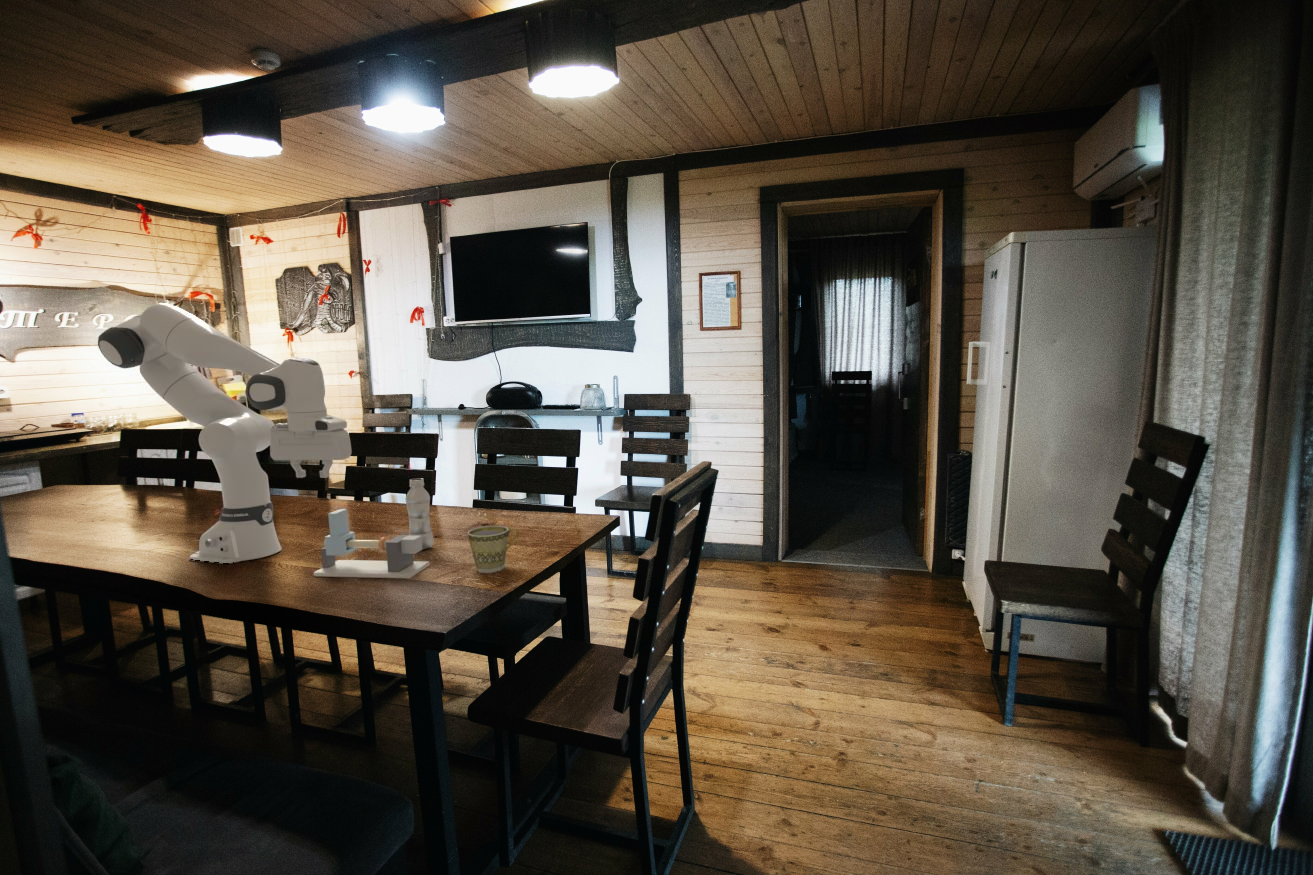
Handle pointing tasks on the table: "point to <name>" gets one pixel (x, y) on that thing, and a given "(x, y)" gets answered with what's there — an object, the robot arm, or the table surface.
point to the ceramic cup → (490, 547)
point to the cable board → (394, 567)
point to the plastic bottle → (419, 512)
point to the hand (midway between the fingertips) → (312, 477)
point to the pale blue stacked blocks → (338, 534)
